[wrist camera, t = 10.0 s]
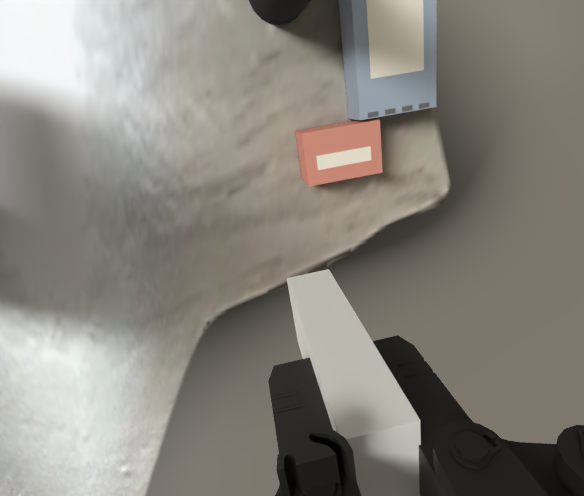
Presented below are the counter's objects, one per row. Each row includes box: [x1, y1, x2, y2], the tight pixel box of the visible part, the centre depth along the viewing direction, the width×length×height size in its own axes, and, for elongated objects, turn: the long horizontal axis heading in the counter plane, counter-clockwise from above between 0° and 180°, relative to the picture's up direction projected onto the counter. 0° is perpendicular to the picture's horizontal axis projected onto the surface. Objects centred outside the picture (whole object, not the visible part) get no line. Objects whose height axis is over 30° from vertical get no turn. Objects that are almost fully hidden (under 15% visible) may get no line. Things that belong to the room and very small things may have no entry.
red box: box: [296, 119, 383, 186], centre depth 44 cm, size 9×6×4 cm, turn 99°
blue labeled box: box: [338, 0, 437, 120], centre depth 40 cm, size 9×14×4 cm, turn 9°
